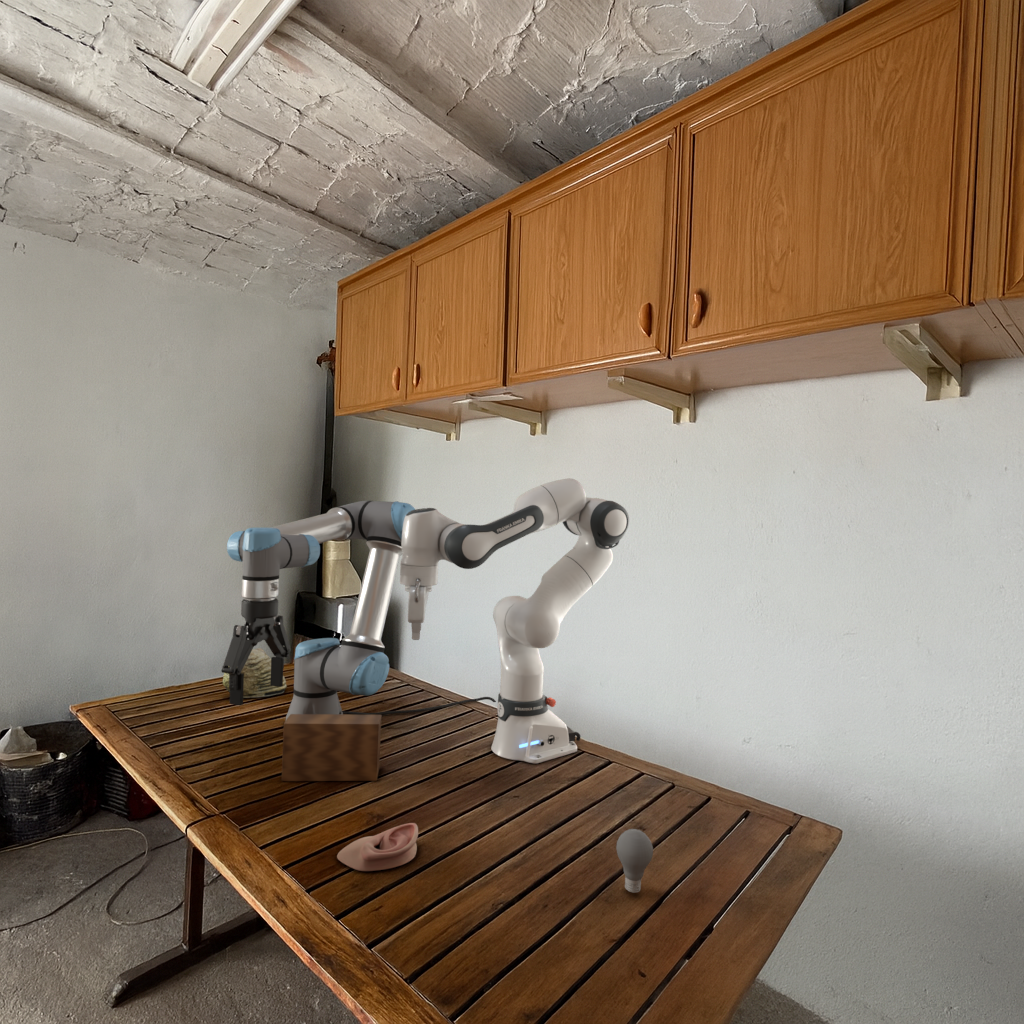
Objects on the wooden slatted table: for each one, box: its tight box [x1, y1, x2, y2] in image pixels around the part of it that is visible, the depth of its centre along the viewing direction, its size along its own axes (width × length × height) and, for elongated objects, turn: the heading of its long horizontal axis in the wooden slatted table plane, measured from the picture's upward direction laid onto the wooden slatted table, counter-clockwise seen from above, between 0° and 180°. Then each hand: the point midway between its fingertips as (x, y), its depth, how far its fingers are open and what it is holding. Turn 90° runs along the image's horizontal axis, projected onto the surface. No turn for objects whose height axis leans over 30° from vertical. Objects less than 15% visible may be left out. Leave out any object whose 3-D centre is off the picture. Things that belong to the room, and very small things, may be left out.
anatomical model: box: [336, 822, 419, 872], centre depth 113 cm, size 13×4×12 cm
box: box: [281, 714, 382, 782], centre depth 144 cm, size 21×6×13 cm, turn 96°
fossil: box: [222, 647, 288, 699], centre depth 198 cm, size 9×18×15 cm, turn 132°
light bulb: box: [615, 828, 654, 894], centre depth 106 cm, size 6×6×10 cm
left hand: (257, 694), depth 139 cm, fingers open, 13 cm apart
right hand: (416, 634), depth 150 cm, fingers open, 8 cm apart
